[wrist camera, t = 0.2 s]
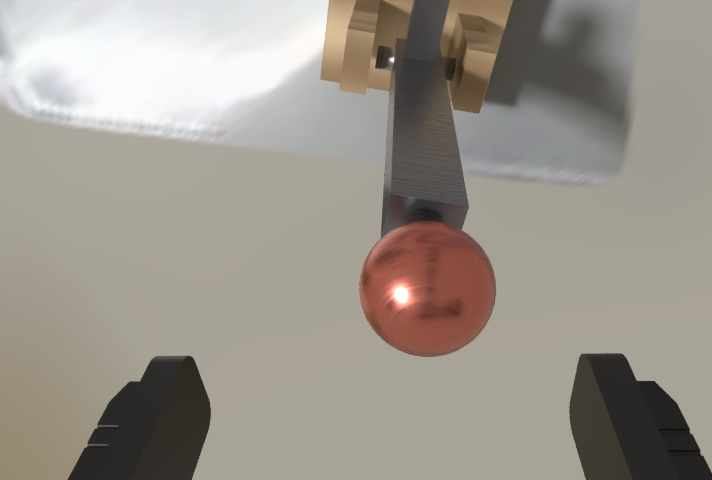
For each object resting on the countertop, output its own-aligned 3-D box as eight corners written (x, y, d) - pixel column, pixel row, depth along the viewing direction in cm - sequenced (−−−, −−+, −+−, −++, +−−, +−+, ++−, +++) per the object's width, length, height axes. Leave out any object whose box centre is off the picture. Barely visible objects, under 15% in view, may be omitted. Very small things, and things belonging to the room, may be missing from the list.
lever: (394, -49, 27) (378, 133, 10) (476, -35, 27) (597, 170, 10) (372, 82, 31) (333, 372, 14) (444, 94, 31) (492, 397, 14)
